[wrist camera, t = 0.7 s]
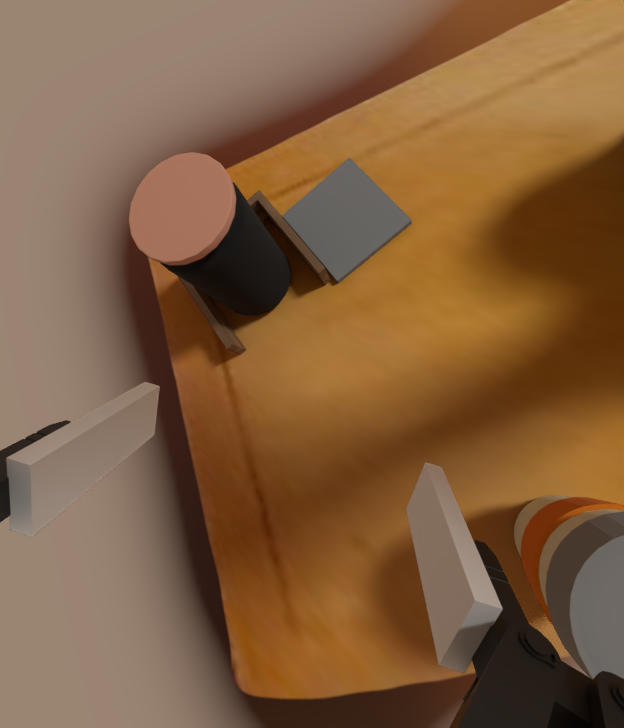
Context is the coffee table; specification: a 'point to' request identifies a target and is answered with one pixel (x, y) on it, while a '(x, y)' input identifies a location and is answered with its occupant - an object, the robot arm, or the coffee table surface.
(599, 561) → the reusable coffee cup
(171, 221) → the coffee jar
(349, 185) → the charcoal mat
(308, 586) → the coffee table surface
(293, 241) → the walnut holder
